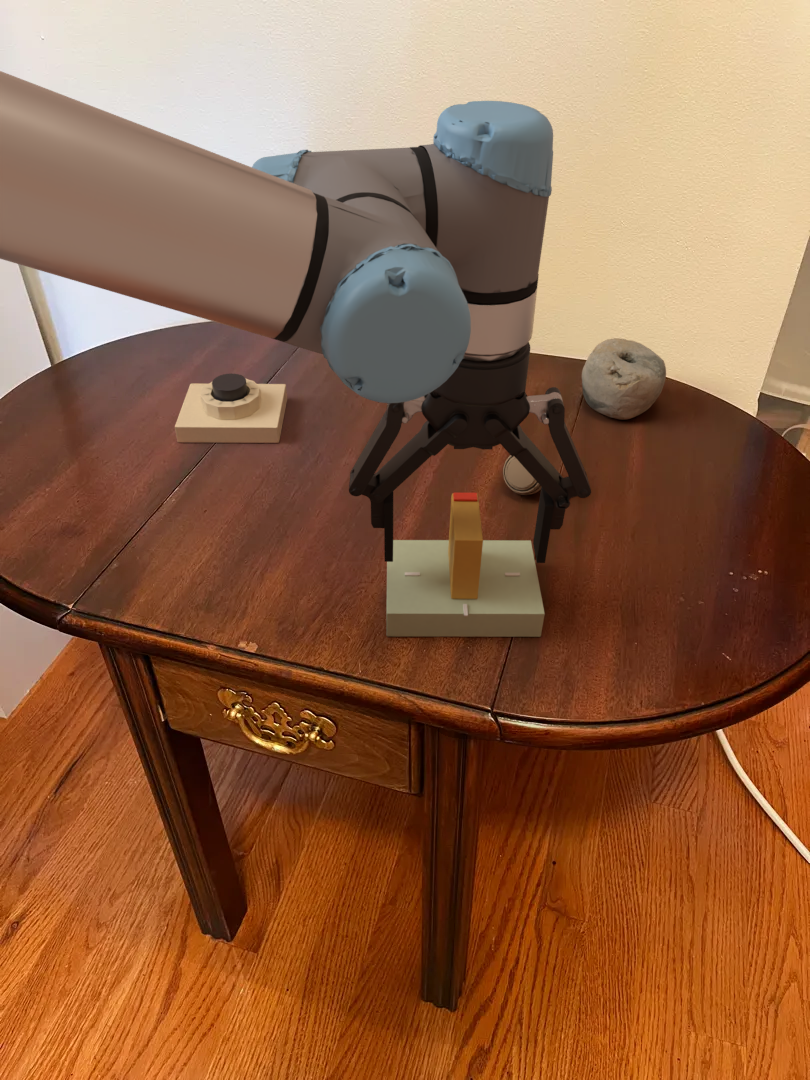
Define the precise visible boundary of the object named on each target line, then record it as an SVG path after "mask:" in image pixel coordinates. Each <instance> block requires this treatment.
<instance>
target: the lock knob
mask: <svg viewBox="0 0 810 1080" xmlns="http://www.w3.org/2000/svg"><path fill="white" fill-rule="evenodd" d="M450 496H451V498H450V515H449V529H448V531H449V532H448V540H449V546H448V557H449V574H450V591H451V599H477V598H478V588H479V578H480V567H481V557H482V546H483V540H484V537H483V527H482V518H481V508H480V500H479V494H478V492H452V493H451V495H450Z"/></svg>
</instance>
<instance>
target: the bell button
mask: <svg viewBox="0 0 810 1080" xmlns="http://www.w3.org/2000/svg"><path fill="white" fill-rule="evenodd" d="M245 378H246V377H245V376H243V375H241V374H239V373H231V372H230V373H223V374H220V375H218V376H216V377H215V378H213V380H212V381H211V382H212V387H213V394H214V398H215V399H216V400H219V401H222V402H233V401H237V400H240V399H243V398H244V397H246V396H247V394H248V392H247V384H246V379H247V378H246V379H245Z"/></svg>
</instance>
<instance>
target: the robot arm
mask: <svg viewBox="0 0 810 1080" xmlns="http://www.w3.org/2000/svg"><path fill="white" fill-rule="evenodd" d="M432 141H433V143H430V144H421V145H418V146H410V147H391V148H390V147H389V148H388V147H387V148H368V149H367V148H366V149H350V150H349V149H347V150H328V151H327V150H326V151H323V150H322V151H312V150H309V149H300V150H298V151H297V152H293V153H291V152H290V153H286V154H285V153H284V154H277V155H270V156H263V157H260V158H258V159H257V160H256V161H255V162H254V163H253V164H252V166H249V165H246V164H244V163H242V162H239V161H236V160H233V159H231V158H229V157H227V156H223V155H221V154H218V153H216V152H213V151H210V150H208V149H205V148H202V147H200V146H197V145H194V144H192V143H189V142H187V141H184V140H182V139H179V138H177V137H174V136H171V135H169V134H166V133H163V132H161V131H158V130H155V129H153V128H151V127H148V126H145V125H142V124H140V123H137V122H135V121H132V120H129V119H126V118H124V117H122V116H119V115H116V114H114V113H112V112H108V111H106V110H103V109H101V108H98V107H95V106H93V105H90V104H88V103H85V102H82V101H80V100H77V99H75V98H72V97H69V96H67V95H64V94H62V93H59V92H57V91H53V90H51V89H49V88H46V87H43V86H41V85H39V84H38V85H37V84H36V83H33V82H31V81H28V80H25V79H22V78H20V77H18V76H14V75H12V74H9V73H7V72H4V71H1V70H0V260H3V261H6V262H9V263H13V264H16V265H21V266H23V267H26V268H31V269H34V270H37V271H41V272H44V273H48V274H51V275H55V276H58V277H60V278H61V277H62V278H65V279H67V280H71V281H74V282H78V283H81V284H85V285H88V286H91V287H95V288H99V289H102V290H105V291H109V292H112V293H116V294H119V295H123V296H125V297H129V298H133V299H136V300H139V301H143V302H146V303H149V304H153V305H156V306H160V307H163V308H166V309H170V310H173V311H177V312H180V313H184V314H187V315H190V316H193V317H197V318H200V319H203V320H207V321H211V322H215V323H217V324H221V325H225V326H228V327H231V328H234V329H239V330H241V331H244V332H248V333H252V334H255V335H259V336H262V337H264V338H265V337H266V338H268V339H272V340H276V341H278V342H282V343H285V344H288V345H291V346H294V347H296V348H300V349H303V350H306V351H309V352H313V353H317V354H320V355H323V358H324V359H326V361H327V364H328V366H329V368H330V369H331V370H332V372H334V374H335V375H336V376H337V377H338V378H339V379H340V381H341V383H343V384H344V385H345V386H346V387H347V388H349V390H351V391H353V392H354V393H355V394H356V395H358V396H360V397H361V398H364V399H366V400H368V401H372V402H376V403H382V404H383V403H384V404H386V410H385V411H384V413H383V415H382V416H381V418H380V420H379V421H378V423H377V425H376V427H375V429H374V430H373V432H372V434H371V436H370V437H369V438H368V440H367V443H366V444H365V446H364V448H363V449H362V451H361V453H360V454H359V456H358V458H357V460H356V461H355V463H354V465H353V467H352V468H351V470H350V474H349V482H348V483H349V485H348V493H349V495H351V496H352V497H360V496H364V497H366V498H368V499H369V501H370V524H371V526H372V528H373V529H384V530H383V531H384V533H383V535H384V537H383V538H384V545H383V547H384V550H383V551H384V552H383V553H384V562H385V563H387V562H393V540H394V491H396V489H398V488H399V487H400V486H401V485H402V484H403V483H404V482H405V481H406V480H407V479H408V478H409V477H410V476H411V475H412V474H413V473H415V471H417V470H418V469H419V468H420V467H421V466H422V465H423V464H424V463H425V462H427V461H428V460H429V459H430V458H431V457H432V456H433V457H434V456H437V455H438V454H440V452H441V451H443V449H444V448H446V447H447V445H449V446H451V447H453V450H466V449H471V448H475V449H478V450H480V449H481V450H493V448H494V447H496V446H499V445H501V447H503V449H504V450H505V451H506V452H507V453H508V455H509V456H510V455H511V456H514V457H515V458H516V459H517V460H518V461H519V462H520V463H521V464H522V465H523V467H524V468H525V469H526V470H527V471H528V472H529V473H530V474H531V475H532V477H533V478H534V479H535V480H536V481H537V482H538V483H539V484H540V485H541V490H540V494H539V501H538V505H537V506H538V507H537V508H538V509H537V513H536V521H535V527H534V534H533V542H532V547H533V550H534V551H533V552H534V558H535V563H536V564H545V563H546V558H547V552H548V548H549V547H548V546H549V540H550V534H551V530H561V528H562V527H563V525H564V519H565V515H566V514H565V513H566V510H567V509H569V507H570V506H571V501H570V499H572V498H573V499H574V498H575V497H578V498H580V499H586V498H587V499H588V497H590V496H591V494H592V488H591V485H590V481H589V478H588V474H587V471H586V469H585V466H584V464H583V462H582V459H581V457H580V455H579V452H578V450H577V448H576V445H575V443H574V441H573V438H572V436H571V434H570V431H569V429H568V426H567V424H566V421H565V415H566V414H565V413H566V409H565V404H564V401H563V397H562V394H561V390H560V389H559V388H558V387H556V386H552V387H549V388H548V389H546V391H545V394H535V395H534V394H533V395H527V392H526V390H527V389H526V388H527V380H528V372H529V365H530V364H529V363H530V357H531V356H530V355H531V344H530V341H531V340H532V337H533V333H534V332H533V331H534V323H535V322H534V321H535V312H536V302H537V293H538V285H539V276H540V275H539V271H540V264H541V258H542V250H543V243H544V235H545V229H546V222H547V214H548V207H549V200H550V197H551V195H552V192H553V188H552V177H553V176H552V175H553V161H554V149H553V148H554V129H553V126H552V124H551V121H550V120H549V119H548V117H547V115H545V114H543V113H542V112H540V111H539V110H538V109H536V108H534V107H531V106H529V105H525V104H521V103H516V102H510V101H502V100H472V101H468V102H467V103H458V104H457V103H456V104H452V105H450V106H448V107H446V108H445V109H443V110H442V112H441V113H440V114H439V116H438V118H437V122H436V131H435V133H434V134H433V139H432ZM417 413H421V414H422V415H423V417H424V418H425V419H426V421H425V422H424V423H423V424H422V426H421V428H420V430H419V431H418V432H417V433H415V435H414V436H413V437H411V439H410V440H409V441H408V442H407V443H405V445H404V446H403V447H402V448H401V449H400V450H398V452H396V453H395V454H394V455H393V456H392V457H391V458H390V459H389V460H388V461H387V462H386V463H385V464H384V465H383V466H382V467H381V468H380V469H379V470H378V468H379V467H380V465H381V464H382V462H383V460H384V458H385V457H386V455H387V454H388V452H389V451H390V449H391V447H392V446H393V444H394V442H395V440H396V439H397V437H398V435H399V433H400V430H401V428H402V424H408V423H409V421H411V420H412V418H413V416H414V415H415V414H417ZM529 414H534V415H535V416H536V418H537V420H538V422H540V423H542V424H543V425H545V426H548V430H549V434H550V437H551V440H552V441H553V444H554V446H555V448H556V450H557V453H558V455H559V457H560V459H561V462H562V464H563V466H564V469H565V471H566V474H567V475H568V476H564V477H563V475H562V474H561V473H560V472H559V471H558V469H556V467H555V466H554V465H553V463H551V462H550V460H549V459H548V458H547V457H546V456H545V455H544V453H543V452H542V451H541V450H540V449H539V448H538V447H537V446H536V444H535V443H534V442H533V441H532V440H531V438H529V437H528V435H527V434H526V433H525V432H524V430H523V429H522V426H521V425H520V424H522V423H523V422H524V420H526V418H527V417H528V416H529ZM377 470H378V471H377Z"/></svg>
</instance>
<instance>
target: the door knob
mask: <svg viewBox="0 0 810 1080" xmlns="http://www.w3.org/2000/svg"><path fill="white" fill-rule="evenodd" d="M502 477H503V480H504V483H505V484H506V486H507V487H508V488H509V489H510V490H511V491H512V492H514V493H516V494H518V495H522V496H529V495H534V494H537V493H539V492H541V485H540V484H539V483H538V482H537V481H536V480H535V479H534V478H533V477H532V475H531V474H530V473H529V472H528V471H527V470H526V469H525V468H524V467H523V465H522V464H521V463H520V462H519V461H518V460H517V459H516V458H515V457H514V456H511V455H510V454H509V456H508V457H507V458H506V460H505V462H504V464H503V467H502Z"/></svg>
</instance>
